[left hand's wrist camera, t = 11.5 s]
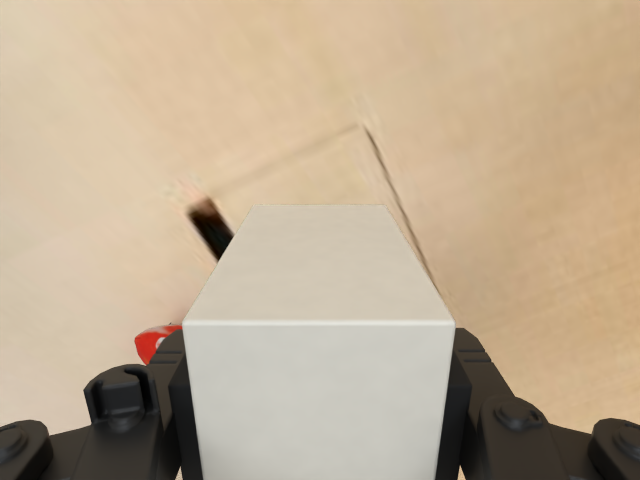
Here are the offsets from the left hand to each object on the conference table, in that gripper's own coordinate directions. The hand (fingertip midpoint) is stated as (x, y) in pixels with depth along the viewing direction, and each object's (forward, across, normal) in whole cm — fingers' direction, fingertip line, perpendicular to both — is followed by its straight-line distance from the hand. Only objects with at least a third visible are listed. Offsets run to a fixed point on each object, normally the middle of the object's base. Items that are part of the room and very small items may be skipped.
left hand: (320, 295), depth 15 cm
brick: (+1, 0, 0) cm, 1 cm away
